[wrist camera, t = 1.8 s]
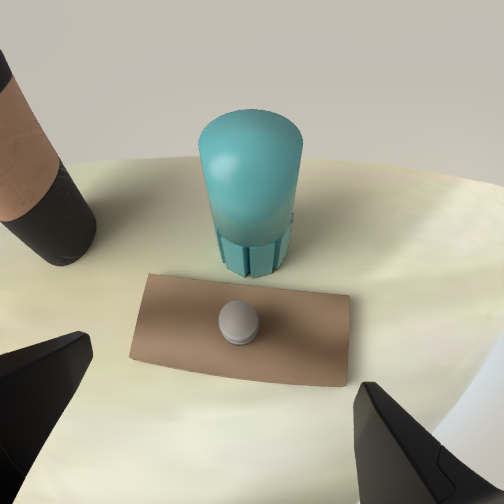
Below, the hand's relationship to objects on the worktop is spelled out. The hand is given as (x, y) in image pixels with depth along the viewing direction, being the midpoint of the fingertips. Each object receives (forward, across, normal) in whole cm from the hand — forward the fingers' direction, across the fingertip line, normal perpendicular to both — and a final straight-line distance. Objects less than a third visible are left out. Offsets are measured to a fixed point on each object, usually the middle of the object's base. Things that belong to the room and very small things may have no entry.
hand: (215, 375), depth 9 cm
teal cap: (+18, +1, +1) cm, 18 cm away
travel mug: (+17, +20, +2) cm, 26 cm away
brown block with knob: (+13, 0, +6) cm, 14 cm away
